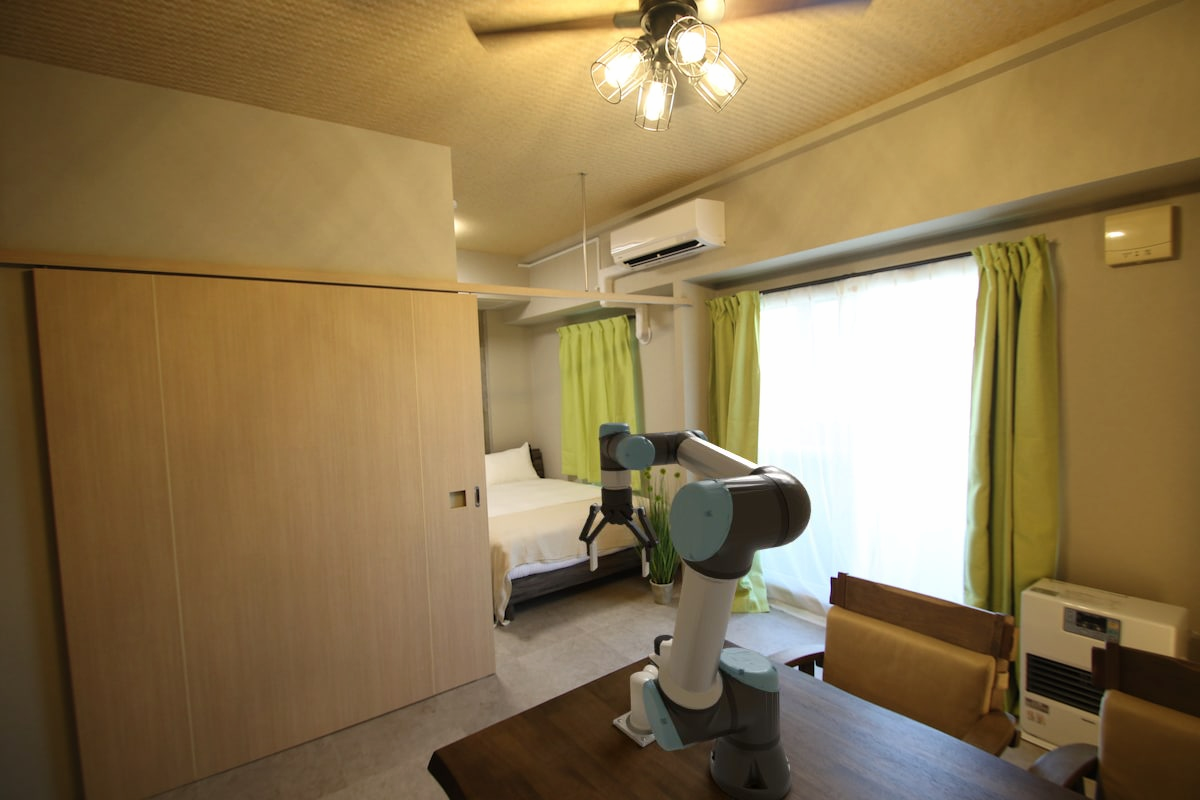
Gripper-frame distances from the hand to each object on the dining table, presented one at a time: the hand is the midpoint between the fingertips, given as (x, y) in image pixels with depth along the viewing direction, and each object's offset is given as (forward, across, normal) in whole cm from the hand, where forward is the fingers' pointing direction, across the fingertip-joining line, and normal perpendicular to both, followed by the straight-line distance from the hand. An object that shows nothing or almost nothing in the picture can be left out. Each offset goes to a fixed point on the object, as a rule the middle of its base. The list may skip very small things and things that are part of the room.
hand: (619, 572), depth 129 cm
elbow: (+30, -8, +8) cm, 32 cm away
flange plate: (+31, -8, +10) cm, 33 cm away
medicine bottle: (+31, -9, -8) cm, 33 cm away
